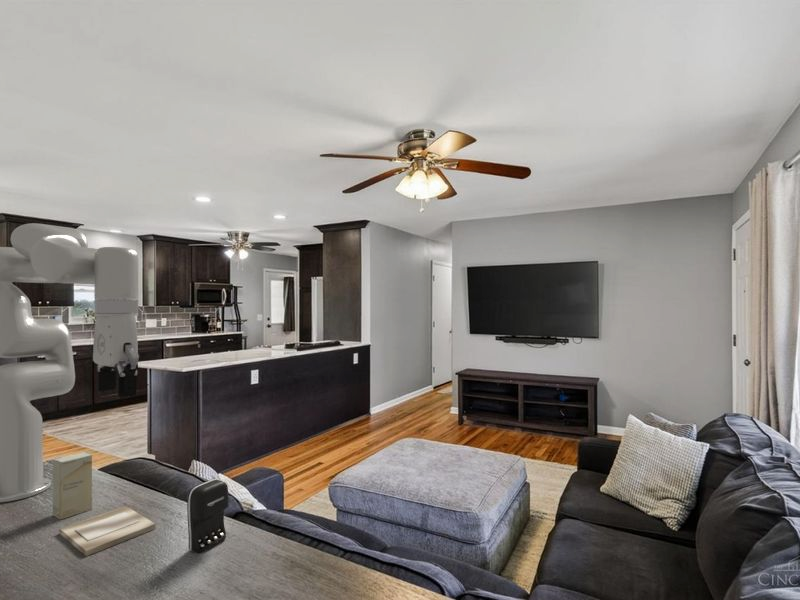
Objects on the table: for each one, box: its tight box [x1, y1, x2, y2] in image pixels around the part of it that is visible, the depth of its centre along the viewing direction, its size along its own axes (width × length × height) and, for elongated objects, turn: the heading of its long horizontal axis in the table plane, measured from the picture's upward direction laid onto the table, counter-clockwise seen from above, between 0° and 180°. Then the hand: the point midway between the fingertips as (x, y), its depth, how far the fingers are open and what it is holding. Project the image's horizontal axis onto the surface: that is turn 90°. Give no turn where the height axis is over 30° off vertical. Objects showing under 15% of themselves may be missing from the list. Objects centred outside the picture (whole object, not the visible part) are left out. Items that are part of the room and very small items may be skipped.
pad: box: [59, 505, 157, 557], centre depth 89 cm, size 14×12×1 cm
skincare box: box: [52, 451, 93, 520], centre depth 98 cm, size 6×4×12 cm
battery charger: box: [186, 478, 230, 553], centre depth 83 cm, size 7×4×11 cm, turn 150°
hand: (116, 393), depth 90 cm, fingers open, 9 cm apart
